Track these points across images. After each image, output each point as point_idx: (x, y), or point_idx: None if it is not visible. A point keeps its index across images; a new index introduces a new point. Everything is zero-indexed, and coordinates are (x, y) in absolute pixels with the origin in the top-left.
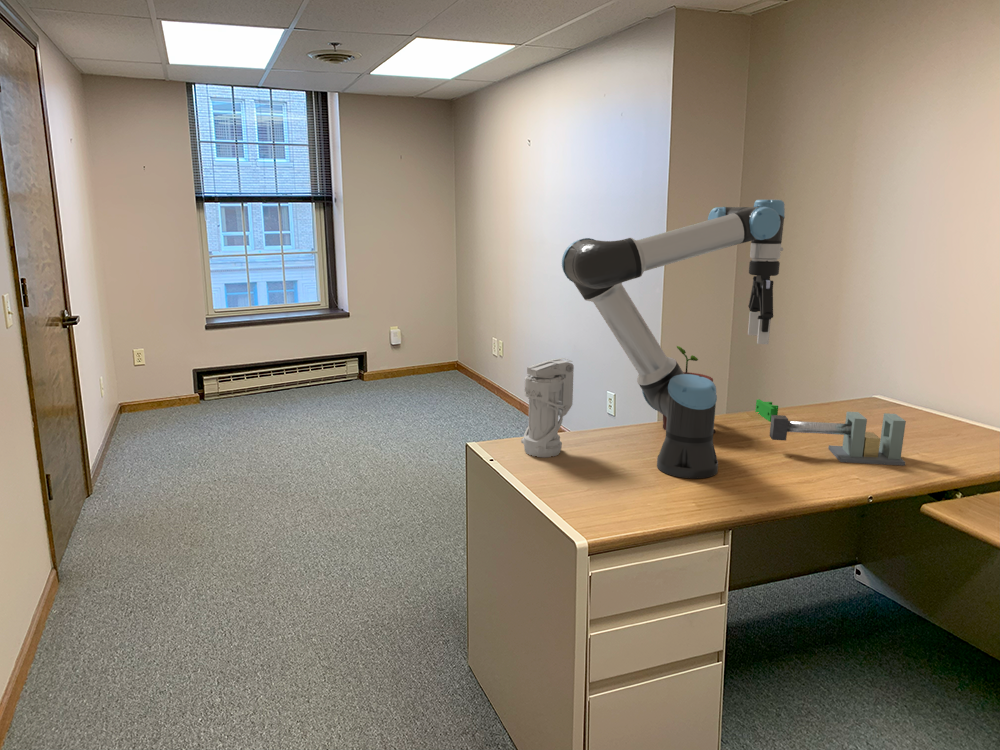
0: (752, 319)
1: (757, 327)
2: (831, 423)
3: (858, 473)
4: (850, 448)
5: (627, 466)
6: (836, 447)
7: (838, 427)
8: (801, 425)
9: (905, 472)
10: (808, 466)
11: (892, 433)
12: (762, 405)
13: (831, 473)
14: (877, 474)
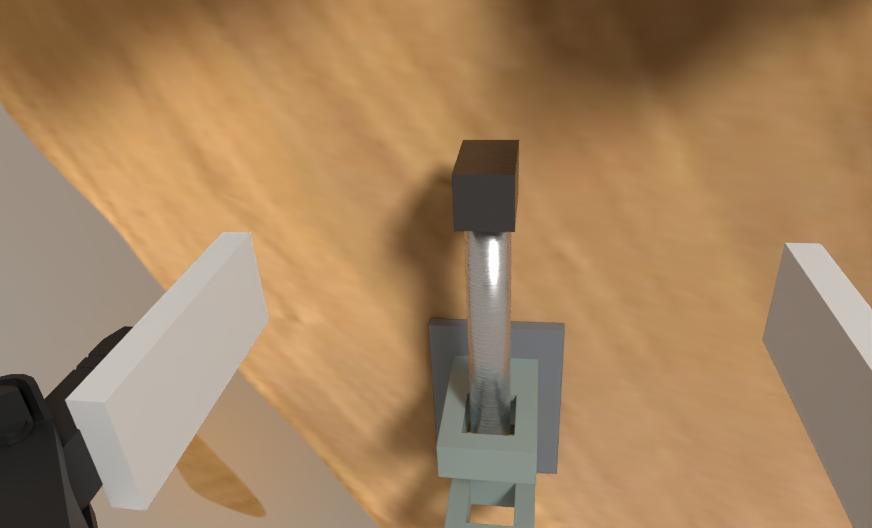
0: (858, 400)
1: (794, 385)
2: (484, 373)
3: (339, 333)
4: (458, 371)
5: None
6: (544, 346)
7: (470, 383)
8: (467, 270)
9: (383, 439)
10: (361, 217)
11: (448, 501)
12: None
13: (314, 265)
14: (346, 375)
